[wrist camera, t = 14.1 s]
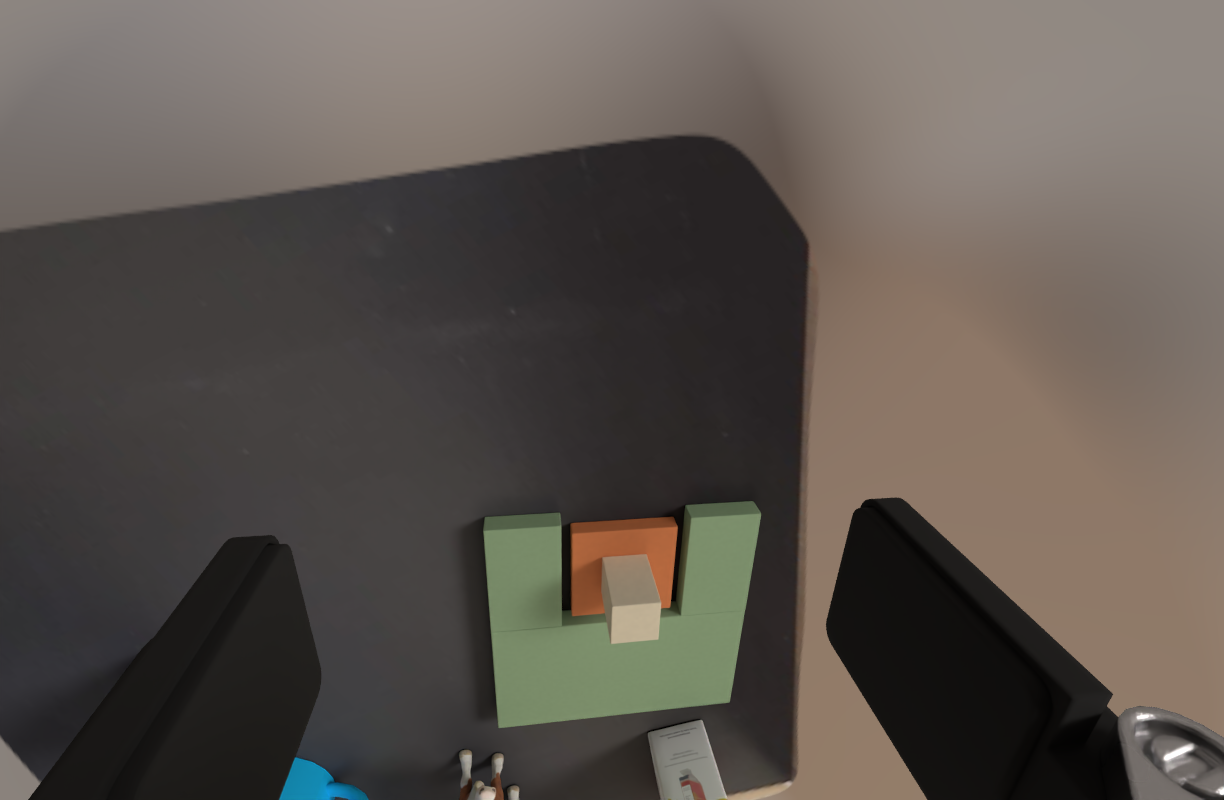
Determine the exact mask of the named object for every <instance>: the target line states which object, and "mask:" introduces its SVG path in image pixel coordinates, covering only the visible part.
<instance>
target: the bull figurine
mask: <svg viewBox="0 0 1224 800" xmlns="http://www.w3.org/2000/svg"><path fill="white" fill-rule="evenodd" d="M459 757H460V761H461V765H462V771H463V776H462V779H461V784H460V785H461V792H460V798H459V800H504V795H503V790H502V787H501V779H500V773H501V770H502V768H503V767H502V764H503V758H504V756H503V755H502V754H501V753H496V754H494V755H493V756H492V775H493V777H492V780H491V787H488V786H484V783H483V782H482V781H476V782H475V784H474V786H473V788H472V780H471V775H470V769H471V762H472V752H471V751H470V750H462V751H461V752H460V753H459ZM471 788H472V790H471ZM507 792H508V799H509V800H519V797H518V796H519V787H518V786H515V785H514V786H510V787H509V788H508V789H507Z"/></svg>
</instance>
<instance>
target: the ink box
mask: <svg viewBox="0 0 1224 800" xmlns="http://www.w3.org/2000/svg"><path fill="white" fill-rule="evenodd" d="M648 739H649V744H650V749H651V754H652V759H653V764H654V769H655V775H656V780H657V785H658V790H659V795H660V800H727V797H726V793H725V790H724V787H723V784H722V781H721V778H720V775H719V771H718V768H717V765H716V762H715V759H714V756H713V752H712V749H711V746H710V743H709V740H708V737H707V734H706V730H705V727H704V724H703V721H702V720H697V721H693V722H688V723H684V724H680V725H676V726H672V727H668V728H664V729H660V730H656V731H651V732H649V733H648Z"/></svg>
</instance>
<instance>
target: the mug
mask: <svg viewBox="0 0 1224 800" xmlns="http://www.w3.org/2000/svg"><path fill="white" fill-rule="evenodd" d="M336 796H337V797H342V798H347V799H349V800H369V799H368V797H367V795H366V794H365V793H364V792H362V791H361V790H360V789H358V788H357V787H355V786H354V785H349V784H344V783H339V782H336V783H335V781H334V778H333V777H332V776H331V775H330V774H329V773H328V772H327V771H326V770H325V769H324V768H322V767H320V766H319V765H317V764H315V763H313V762H311V761H307V760H303V759H300V758H296V757H295V759H294V761H293V764H292V767H291V769H290V772H289V775H288V778H287V780H286V783H285V786H284V788H283V791H282V794H281V796H280V799H279V800H334V799H335V797H336Z"/></svg>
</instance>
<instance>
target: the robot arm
mask: <svg viewBox="0 0 1224 800" xmlns="http://www.w3.org/2000/svg"><path fill="white" fill-rule="evenodd" d="M826 630H827V635H828V638H829V641H830V643H831V645H832V646H833V648H834V650H835V651H836V653H837V654H838V656H839V657H840V659H841V661H842V662H843V664H844V665H845V667H846V669H847V671H848V672H849V674H850V675H851V677H852V679H853V680H854V682H855V683H856V685H857V687H858V688H859V690H860V692H861V693H862V695H863V696H864V698H865V699H866V701H867V703H868V704H869V706H870V708H871V709H872V711H873V712H874V714H875V716H876V717H877V719H878V721H879V722H880V724H881V725H882V727H883V728H884V730H885V732H886V734H887V735H888V737H889V738H890V740H891V741H892V743H893V745H894V746H895V748H896V749H897V751H898V753H899V755H900V756H901V758H902V759H903V761H904V763H905V764H906V766H907V767H908V769H909V771H910V772H911V774H912V776H913V777H914V779H915V780H916V782H917V783H918V785H919V787H920V788H921V790H922V791H923V793H924V795H925V796H926V798H927V800H1224V738H1223V737H1222V736H1220V735H1218V734H1217V733H1215V732H1214V731H1212V730H1210V729H1209V728H1207V727H1205V726H1204V725H1202V724H1200V723H1197V722H1195V721H1193V720H1191V719H1189V718H1186V717H1184V716H1182V715H1180V714H1177V713H1173V712H1170V711H1167V710H1163V709H1160V708H1155V707H1144V706H1137V707H1133V708H1129V709H1126V710H1125V711H1124V712H1123V713H1122V714H1121V715H1120V716H1119V717H1117V716H1116V715H1115V714H1114V713H1113V712H1112V711H1111V710H1110V709H1109V708H1108V707H1107V704H1108V702H1109V701H1110V699H1111V697H1112V695H1113V694H1112V693H1111V692H1110V691H1109V690H1108V689H1107V688H1106V687H1105V686H1104V685H1103V684H1102V683H1101V682H1100V681H1098V680H1097V679H1096V678H1095V677H1094V676H1093V675H1092V674H1091V673H1090V672H1089V671H1088V670H1087V669H1086V668H1084V667H1083V666H1082V665H1081V664H1080V663H1079V662H1078V661H1077V660H1076V659H1075V658H1074V657H1073V656H1072V655H1071V654H1069V653H1068V652H1067V651H1066V650H1065V649H1064V648H1063V647H1062V646H1061V645H1060V644H1059V643H1058V642H1057V641H1055V640H1054V639H1053V638H1052V637H1051V636H1050V635H1049V634H1048V633H1047V632H1045V630H1044V629H1043V628H1041V627H1040V626H1039V625H1038V624H1037V623H1036V622H1035V621H1034V620H1033V619H1032V618H1031V617H1030V616H1029V615H1027V614H1026V613H1025V612H1024V611H1023V610H1022V609H1021V608H1020V607H1019V606H1017V604H1016V603H1015V602H1013V601H1012V600H1011V599H1010V598H1009V597H1008V596H1007V595H1006V594H1005V593H1004V592H1003V591H1002V590H1000V589H999V588H998V587H997V586H996V585H995V584H994V583H993V582H992V581H991V580H990V579H989V578H988V577H987V576H985V575H984V574H983V573H982V572H981V571H980V570H979V569H978V568H977V567H976V566H975V565H974V564H973V563H971V562H970V561H969V560H968V559H967V558H966V557H965V556H964V555H963V554H962V553H961V552H960V551H959V550H957V549H956V548H955V547H954V546H953V545H952V544H951V543H950V542H949V541H948V540H947V539H946V538H944V537H943V536H942V535H941V534H940V533H939V532H938V531H937V530H936V529H935V528H934V527H933V526H932V525H931V524H929V523H928V522H927V521H926V520H925V519H924V518H923V517H922V516H921V515H920V514H919V513H918V512H917V511H915V510H914V509H913V508H912V507H911V506H910V505H909V504H908V503H907V502H906V501H904V500H903V499H901V498H882V499H869V500H865V501H864V502H863V503H862V505H861V508H858V509H856V510H855V511H854V513H853V516H852V520H851V524H850V528H849V532H848V536H847V540H846V544H845V548H844V552H843V556H842V560H841V564H840V568H839V572H838V577H837V580H836V584H835V589H834V592H833V597H832V601H831V605H830V609H829V613H828V617H827V621H826ZM320 685H321V667H320V663H319V659H318V655H317V651H316V647H315V643H314V639H313V635H312V631H311V627H310V623H309V619H308V615H307V611H306V607H305V603H304V599H303V595H302V591H301V587H300V583H299V579H298V575H297V571H296V567H295V563H294V559H293V555H292V551H291V548H290V547H289V546H288V545H287V544H279V542H278V540H277V539H276V537H275V536H272V535H268V536H251V537H235V538H231V539H228V540H227V541H226V542H225V543H224V544H223V546H222V547H221V548H220V550H219V551H218V552H217V554H216V555H215V556H214V558H213V559H212V560H211V562H210V563H209V565H208V566H207V567H206V569H205V570H204V571H203V573H202V574H201V575H200V577H199V578H198V579H197V581H196V582H195V583H194V585H193V586H192V587H191V589H190V590H189V591H188V593H187V594H186V595H185V597H184V598H183V599H182V601H181V602H180V603H179V605H178V606H177V607H176V609H175V610H174V611H173V613H172V614H171V615H170V617H169V618H168V619H167V621H166V622H165V623H164V625H163V626H162V627H161V629H160V630H159V631H158V633H157V634H156V635H155V637H154V638H153V639H151V640H150V641H149V642H148V643H147V644H146V645H145V646H144V647H143V648H142V650H141V651H140V652H139V653H138V655H137V656H136V657H135V659H134V660H133V661H132V663H131V664H130V665H129V667H128V668H127V669H126V671H125V672H124V673H123V675H122V676H121V677H120V679H119V680H118V681H117V683H116V684H115V685H114V687H113V688H112V689H111V691H110V692H109V693H108V695H107V696H106V697H105V699H104V700H103V701H102V703H101V704H100V705H99V707H98V708H97V709H96V710H95V712H94V713H93V714H92V716H91V717H90V718H89V720H88V721H87V722H86V724H85V725H84V726H83V728H82V729H81V730H80V732H79V733H78V734H77V736H76V737H75V738H74V740H73V741H72V742H71V744H70V745H69V746H68V748H67V749H66V750H65V752H64V753H63V754H62V756H61V757H60V758H59V760H58V761H57V762H56V764H55V765H54V766H53V768H52V769H51V770H50V771H49V773H48V774H47V775H46V777H45V778H44V779H43V781H42V782H41V783H40V785H39V786H38V787H37V789H36V790H35V791H34V793H33V794H32V795H31V797H30V798H29V799H28V800H279V799H280V796H281V794H282V791H283V788H284V786H285V783H286V780H287V778H288V775H289V772H290V769H291V767H292V764H293V761H294V759H295V756H296V753H297V751H298V748H299V745H300V742H301V740H302V737H303V734H304V732H305V729H306V726H307V724H308V721H309V718H310V716H311V713H312V710H313V707H314V705H315V702H316V699H317V697H318V694H319V690H320Z"/></svg>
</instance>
